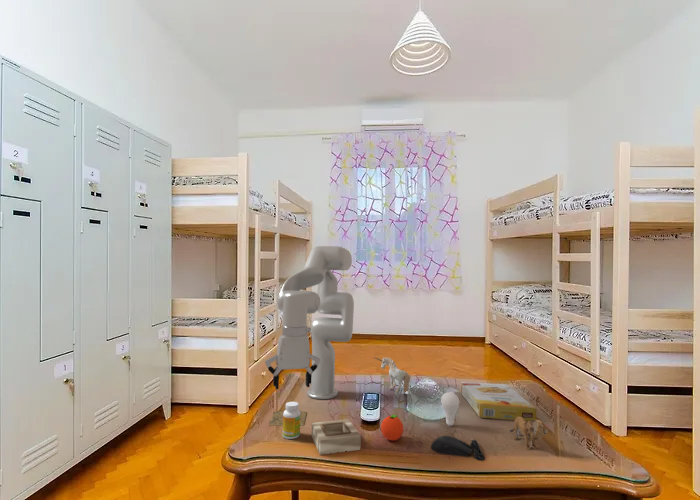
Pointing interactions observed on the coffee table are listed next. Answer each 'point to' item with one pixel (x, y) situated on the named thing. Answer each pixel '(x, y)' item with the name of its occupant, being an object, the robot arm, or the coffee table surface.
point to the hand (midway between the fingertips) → (292, 387)
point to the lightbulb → (450, 406)
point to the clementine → (392, 428)
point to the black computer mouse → (456, 447)
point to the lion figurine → (529, 430)
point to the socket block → (335, 436)
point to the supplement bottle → (291, 421)
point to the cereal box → (497, 401)
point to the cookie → (278, 418)
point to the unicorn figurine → (396, 374)
